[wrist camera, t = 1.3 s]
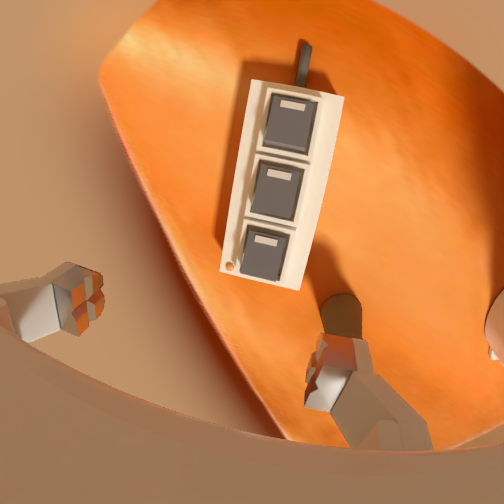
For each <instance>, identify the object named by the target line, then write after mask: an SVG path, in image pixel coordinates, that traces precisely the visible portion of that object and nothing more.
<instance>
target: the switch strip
mask: <svg viewBox="0 0 504 504" xmlns="http://www.w3.org/2000/svg"><path fill="white" fill-rule="evenodd" d="M311 52H312V46H310V45H306V44H303V45H302V49H301V54H300V60H299V65H298V70H297V76H296V81H295V86H292V85H286V84H280V83H274V82H268V81H261V80H253V79H252V80H251V85H250V91H249V96H248V101H247V107H246V112H245V118H244V123H243V129H242V135H241V140H240V146H239V152H238V158H237V164H236V170H235V176H234V182H233V188H232V194H231V200H230V206H229V213H228V219H227V226H226V232H225V239H224V245H223V252H222V259H221V266H220V272H223V273H227V274H231V275H235V276H239V277H244V278H248V279H252V280H256V281H260V282H264V283H269V284H273V285H277V286H281V287H286V288H290V289H294V290H298V291H299V289H300V286H301V282H302V279H303V275H304V271H305V268H306V264H307V260H308V256H309V253H310V249H311V245H312V241H313V237H314V233H315V229H316V225H317V221H318V217H319V213H320V209H321V205H322V201H323V197H324V192H325V188H326V184H327V179H328V175H329V170H330V166H331V161H332V157H333V152H334V147H335V143H336V138H337V133H338V128H339V123H340V118H341V113H342V108H343V102H344V97H342V96H338V95H334V94H330V93H326V92H321V91H317V90H312V89H307V88H305V84H306V79H307V74H308V68H309V63H310V57H311ZM274 96H278V97H283V98H289V99H294V100H299V101H304V102H309V103H314V107H313V112H312V117H311V122H310V127H309V132H308V137H307V142H306V147H305V152H304V151H300V150H295V149H290V148H285V147H281V146H276V145H270V144H266V143H265V141H264V138H265V134H266V129H267V125H268V121H269V116H270V112H271V107H272V103H273V99H274ZM261 164H263V165H268V166H273V167H278V168H283V169H287V170H292V171H297V172H300V177H299V181H298V186H297V191H296V195H295V200H294V204H293V209H292V213H291V218H290V219H289V218H285V217H280V216H276V215H271V214H267V213H262V212H258V211H253V210H251V209H252V205H253V200H254V195H255V191H256V186H257V182H258V177H259V173H260V168H261ZM249 230H255V231H259V232H264V233H268V234H273V235H277V236H281V237H286V240H285V245H284V249H283V254H282V258H281V262H280V266H279V271H278V275H277V279H276V282H274V281H270V280H266V279H262V278H257V277H253V276H249V275H245V274H241V273H240V271H241V266H242V262H243V257H244V252H245V248H246V243H247V239H248V234H249Z"/></svg>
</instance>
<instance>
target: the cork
mask: <svg viewBox="0 0 504 504" xmlns="http://www.w3.org/2000/svg"><path fill="white" fill-rule="evenodd" d="M320 316H321V320H322V324H323V327H324V331H325V334H330V335H336V336H341V337H347V338H355V339H361V340H363V338H362V307H361V303H360V302H359V301H358V299H357V298H355V297H354V296H352V295H349V294H337V295H333V296H331V297H330V298H328V299H327V300H326V301H325V302H324V303H323V305H322V307H321V309H320Z"/></svg>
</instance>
